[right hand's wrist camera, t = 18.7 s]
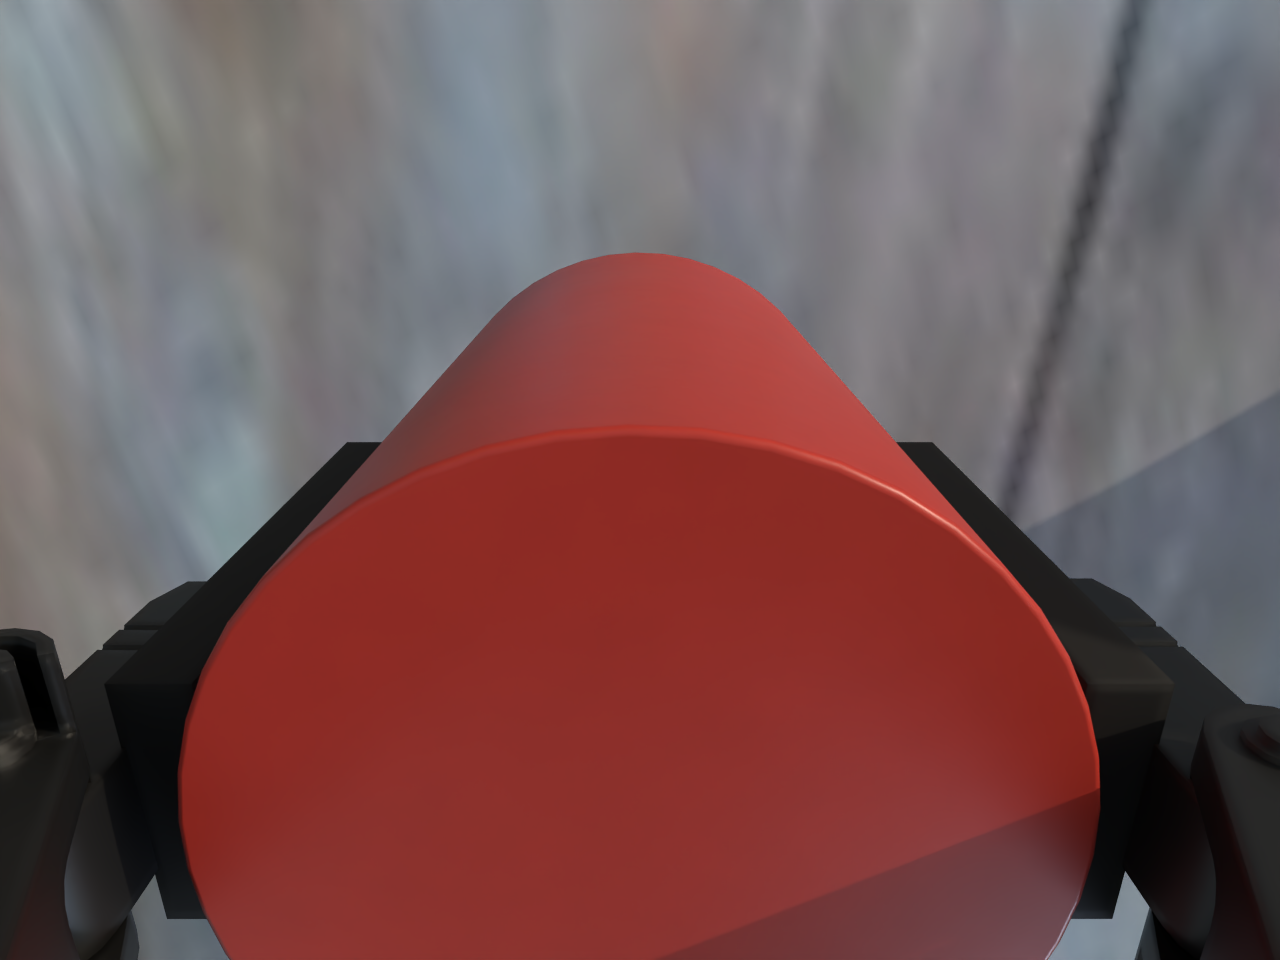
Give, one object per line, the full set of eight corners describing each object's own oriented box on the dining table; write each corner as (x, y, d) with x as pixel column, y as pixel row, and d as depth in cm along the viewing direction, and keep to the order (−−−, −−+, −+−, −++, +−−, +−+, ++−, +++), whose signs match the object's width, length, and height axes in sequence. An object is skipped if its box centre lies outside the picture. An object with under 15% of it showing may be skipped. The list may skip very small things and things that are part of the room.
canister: (711, 170, 15) (850, 205, 5) (893, 506, 18) (1228, 977, 8) (372, 384, 17) (-34, 734, 7) (581, 669, 19) (516, 1244, 9)
